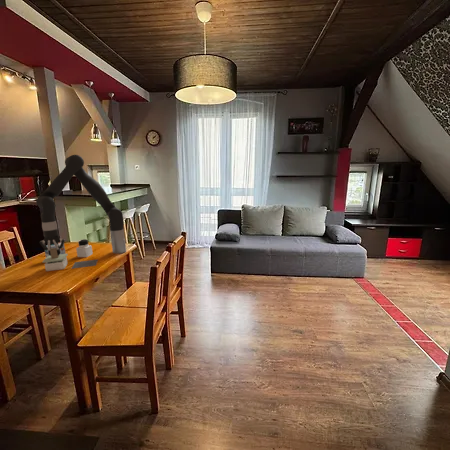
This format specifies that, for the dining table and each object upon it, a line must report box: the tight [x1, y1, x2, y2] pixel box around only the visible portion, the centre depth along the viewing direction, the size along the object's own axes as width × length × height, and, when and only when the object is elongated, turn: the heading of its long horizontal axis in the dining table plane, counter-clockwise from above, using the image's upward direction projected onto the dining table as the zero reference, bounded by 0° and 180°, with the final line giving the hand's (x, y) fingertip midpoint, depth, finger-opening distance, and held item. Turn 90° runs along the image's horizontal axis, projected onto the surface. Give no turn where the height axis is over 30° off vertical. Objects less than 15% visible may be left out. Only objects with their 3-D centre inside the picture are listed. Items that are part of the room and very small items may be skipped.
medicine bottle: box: [75, 238, 93, 258], centre depth 181 cm, size 7×7×12 cm
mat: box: [70, 258, 99, 270], centre depth 166 cm, size 14×12×1 cm
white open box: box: [44, 256, 68, 272], centre depth 161 cm, size 10×10×5 cm
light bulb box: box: [44, 241, 67, 258], centre depth 176 cm, size 11×7×11 cm, turn 143°
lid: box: [42, 247, 69, 264], centre depth 159 cm, size 11×11×7 cm
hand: (55, 255), depth 159 cm, fingers closed on lid, 3 cm apart
